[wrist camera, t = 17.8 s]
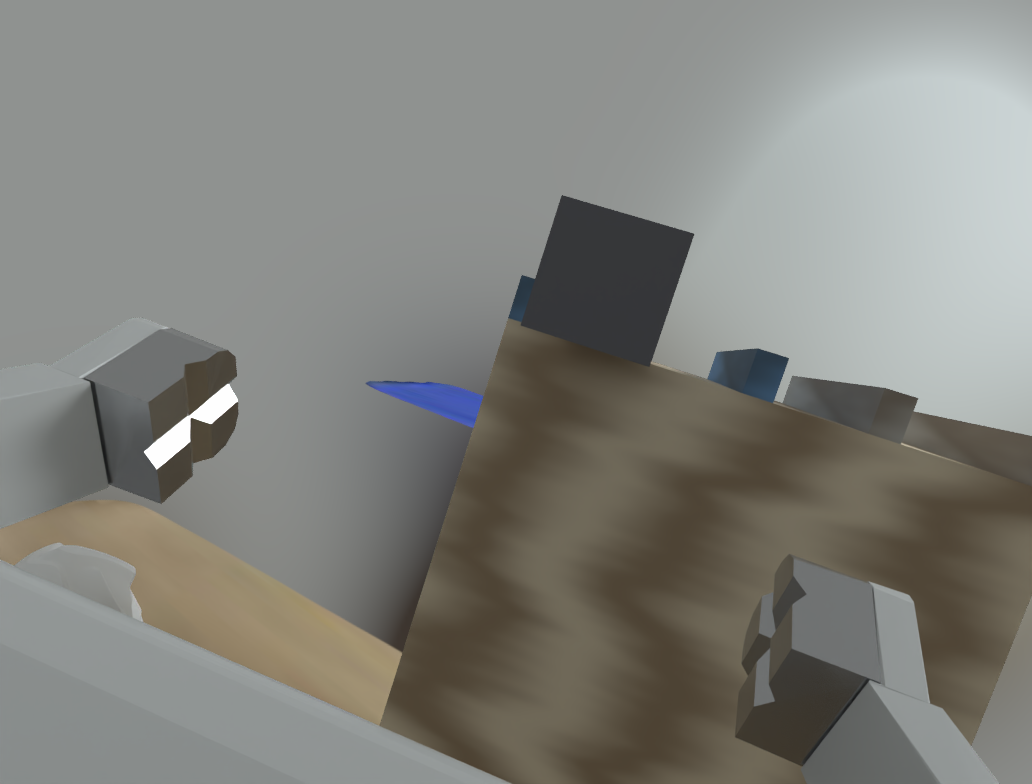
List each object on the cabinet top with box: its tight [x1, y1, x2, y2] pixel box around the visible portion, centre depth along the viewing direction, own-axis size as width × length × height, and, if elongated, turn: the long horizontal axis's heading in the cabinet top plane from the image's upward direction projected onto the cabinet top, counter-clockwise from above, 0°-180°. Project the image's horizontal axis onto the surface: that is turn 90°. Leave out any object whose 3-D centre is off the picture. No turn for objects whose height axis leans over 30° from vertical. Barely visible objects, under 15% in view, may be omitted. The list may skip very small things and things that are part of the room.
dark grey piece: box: [520, 195, 694, 367], centre depth 27 cm, size 3×21×3 cm, turn 169°
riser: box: [380, 275, 1032, 784], centre depth 33 cm, size 18×17×28 cm
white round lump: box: [14, 543, 143, 622], centre depth 40 cm, size 8×8×8 cm
